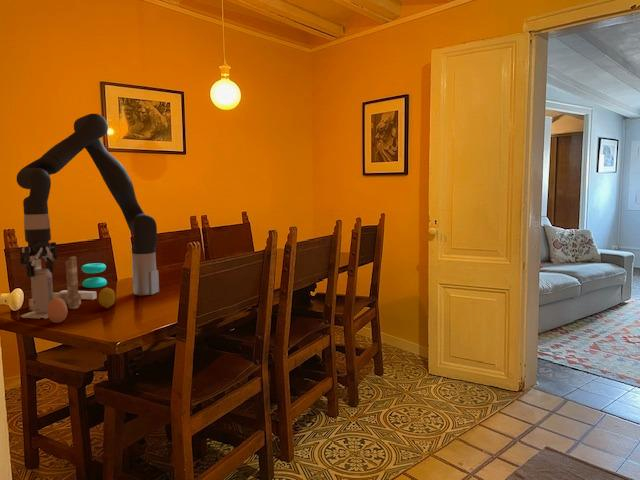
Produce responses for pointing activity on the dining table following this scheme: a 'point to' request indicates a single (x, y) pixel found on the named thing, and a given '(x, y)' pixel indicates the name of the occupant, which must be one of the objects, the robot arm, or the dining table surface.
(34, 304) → the energy drink can
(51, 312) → the egg
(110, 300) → the lemon
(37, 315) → the coaster
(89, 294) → the bar
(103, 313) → the dining table surface
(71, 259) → the cradle
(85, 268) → the donuts
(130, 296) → the dining table surface
